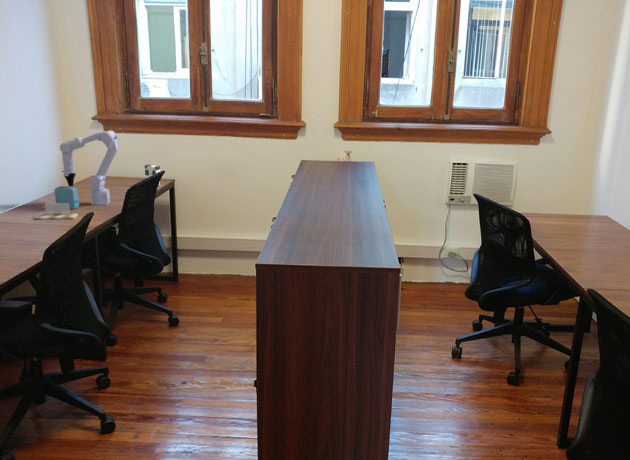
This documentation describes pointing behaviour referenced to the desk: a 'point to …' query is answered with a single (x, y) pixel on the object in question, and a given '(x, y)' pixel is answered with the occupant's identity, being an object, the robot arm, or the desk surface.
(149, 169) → the panda figurine
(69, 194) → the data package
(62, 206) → the bookend
